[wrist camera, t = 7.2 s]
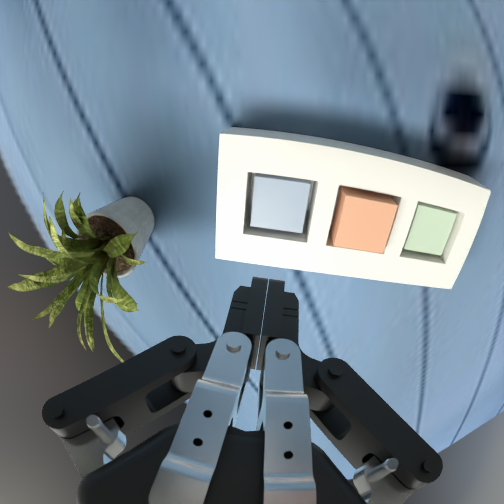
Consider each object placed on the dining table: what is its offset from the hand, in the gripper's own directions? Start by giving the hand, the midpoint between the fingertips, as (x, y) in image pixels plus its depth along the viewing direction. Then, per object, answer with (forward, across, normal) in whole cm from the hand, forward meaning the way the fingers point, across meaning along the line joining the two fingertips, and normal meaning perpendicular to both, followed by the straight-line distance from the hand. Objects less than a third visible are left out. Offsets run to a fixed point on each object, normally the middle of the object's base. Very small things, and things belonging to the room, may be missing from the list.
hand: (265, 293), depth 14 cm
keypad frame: (+15, -7, 0) cm, 16 cm away
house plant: (+15, +14, +5) cm, 21 cm away
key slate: (+13, 0, 0) cm, 14 cm away
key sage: (+14, -14, 0) cm, 20 cm away
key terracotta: (+12, -7, 0) cm, 14 cm away
